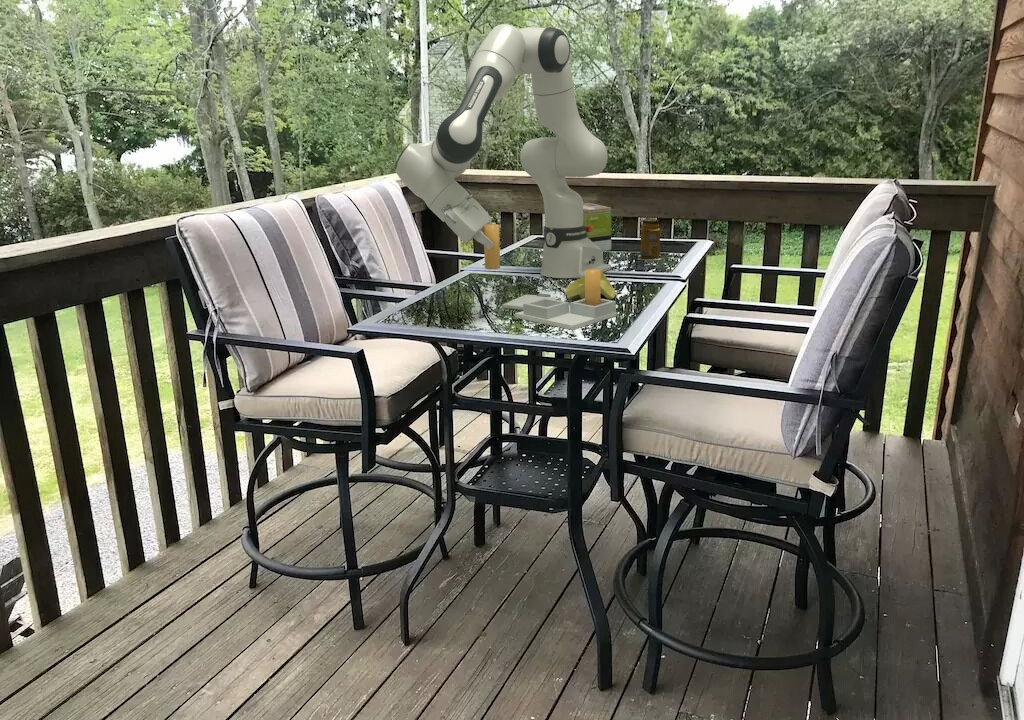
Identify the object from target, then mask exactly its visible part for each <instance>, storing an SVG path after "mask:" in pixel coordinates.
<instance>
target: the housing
mask: <svg viewBox="0 0 1024 720" xmlns="http://www.w3.org/2000/svg"><path fill="white" fill-rule="evenodd" d="M601 295H602V294H601V270H599V269H587V270H585V299H581V298H580V299H578V300H574V301H571V302H570V301H564V300H563V301H562V300H560V301H559V300H554V299H548V298H543V299H539V300H536V301H532V302H528V303H525V304H523V310H521V311H519V312H515V313H514V318H515V319H516V318H517V319H521V320H526V321H529V322H534V323H538V324H544V325H548V326H551V327H552V326H553V327H557V328H562V329H565V328H566V329H565V330H570V331H573V330H577V329H581V328H583V327H587V326H589V325H593V324H595V323H599V322H602V321H605V320H607V319H610V318H614V317H617V316H618V311H617V309H616V308H617V302H616V300H612V299H607V298H606V299H605V298H601Z"/></svg>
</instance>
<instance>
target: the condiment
mask: <svg viewBox="0 0 1024 720" xmlns="http://www.w3.org/2000/svg"><path fill="white" fill-rule="evenodd" d="M641 222H642V224H641V227H642V228H641V229H640V254H637V255H638V256H637V260H638V261H639V260H640V261H661V260H662V255H661V254H660V250H661V249H660V248H661V247H660V246H661V228H660V220H659V219H655V218H647V219H643V220H642V221H641ZM659 256H661V258H659ZM655 258H659V259H655ZM652 259H653V260H652Z"/></svg>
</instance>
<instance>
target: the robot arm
mask: <svg viewBox="0 0 1024 720" xmlns="http://www.w3.org/2000/svg"><path fill="white" fill-rule="evenodd" d="M570 55H571V43H570V41H569V37H568V36H567V35H566V33H565V32H564V31H563V30H562V29H560V28H557V27H551V26H549V27H543V26H542V27H539V26H538V27H537V26H527V27H523V28H522V27H521V28H517V27H516V26H514V25H511V24H507V23H501V24H497V25H496V26H494V27H493V28H492V29H491V30H490V32H489V33H487V35H486V37H484V39H483V40H482V42H481V44H480V45H479V47H478V49H477V50H476V52H475V54H474V55H473V57H472V60H471V63H470V65H469V68H468V71H467V74H466V75H467V76H466V79H465V81H466V85H467V87H468V89H467V91H466V93H465V95H464V97H463V98H462V101H461V103H460V105H459V107H458V108H457V109H456V110H455V111H454V112H452V113H451V114H450V115H448V116H447V117H446V118H445V119H444V120H443V121H442V122H441V123H440V125H439V126H438V129H437V132H436V136H435V138H434V139H431V140H429V141H425V142H420V143H419V142H418V143H414V142H413V143H412V142H410V143H408V145H406V146H405V147H404V149H402V151H401V152H400V154H399V156H398V157H397V159H396V162H395V167H394V170H395V173H396V175H397V176H398V178H399V179H400V180H401V181H402V183H404V185H405V187H407V188H408V189H409V190H410V191H411V192H412V194H414V195H415V196H417V197H418V198H420V199H421V200H423V201H424V203H425V204H426V206H427V208H428V209H429V210H431V211H432V213H433V214H435V216H437V217H438V218H439V219H440V220H441V222H443V223H446V225H447V226H448V227H449V229H450V230H452V231H453V233H454V234H455V235H456V236H457V237H459V239H460V240H461V241H463V242H465V243H469V241H470V240H472V239H474V240H475V241H476V242H478V243H480V244H481V245H483V247H484V246H485V247H486V248H487V249H491V248H492V247H493V245H494V242H493V241H492V240H491V239H489V238H488V237H486V236H485V235H484V225H487V224H491V222H492V221H493V219H492V217H491V215H490V213H488V212H487V211H486V209H484V207H483V206H482V205H481V204H480V203H479V202H478V200H476V199H475V198H474V197H473V196H474V195H473V193H472V191H470V190H469V189H467V188H464V186H462V185H460V183H458V182H457V181H456V180H455V179H457V178H458V177H459V176H461V175H462V174H464V173H465V172H466V171H467V169H468V167H469V166H470V164H471V163H472V161H473V159H474V157H475V156H476V154H477V153H479V150H480V148H481V146H482V144H483V143H482V142H483V123H484V120H485V119H486V116H487V115H488V113H489V110H490V109H491V106H492V104H493V102H497V101H500V100H502V98H503V97H504V96H505V95H506V93H507V92H508V91H509V89H510V87H511V86H512V84H513V82H514V80H515V79H516V76H517V75H518V74H519V75H521V74H523V75H530V77H531V79H530V80H531V87H532V95H533V102H534V106H535V107H534V108H535V113H536V114H535V115H536V118H537V120H538V122H539V123H540V124H541V125H542V126H543V127H545V128H546V129H548V130H550V131H552V133H553V134H554V135H555V137H554V136H551V137H549V136H548V137H545V136H544V137H538V138H533V139H531V140H526V142H525V143H524V144H523V146H522V147H521V151H520V155H519V156H520V157H519V159H520V165H521V167H522V169H523V170H524V171H525V173H527V174H528V175H529V176H530V177H531V178H532V179H533V180H534V182H535V183H536V185H537V186H538V188H539V191H540V193H541V195H542V200H543V208H544V209H543V210H544V224H545V225H544V226H543V239H544V243H543V250H542V261H541V266H540V268H539V269H540V270H541V271H540V276H542V275H543V277H545V276H546V278H551V277H552V278H553V279H576V278H578V279H580V278H582V277H584V276H585V270H587V269H599V270H601V271H602V272H603V273H604V272H608V271H610V270H612V265H610V264H607V263H604V254H603V251H602V250H601V249H600V248H599V247H598V246H597V245H596V244H594V243H593V242H592V241H591V240H590V239H589V238H587V237H588V235H587V232H593V230H592V229H593V227H592V226H588V225H586V226H584V225H583V203H584V200H583V198H582V196H581V195H580V194H579V193H578V192H577V191H575V190H573V189H572V188H570V187H569V185H568V183H567V181H566V178H587V177H591V176H592V177H593V176H596V175H599V174H601V173H602V172H603V171H604V170H605V168H606V166H607V164H608V150H607V147H606V145H605V143H604V142H603V141H602V140H601V139H599V138H598V137H597V136H595V135H594V134H593V133H592V132H591V131H590V130H589V129H588V128H587V126H586V125H585V123H584V122H583V120H582V118H581V116H580V113H579V110H578V106H577V101H576V96H575V95H576V93H575V87H574V80H573V76H572V75H573V74H572V71H571V66H570V62H569V59H570Z"/></svg>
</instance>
